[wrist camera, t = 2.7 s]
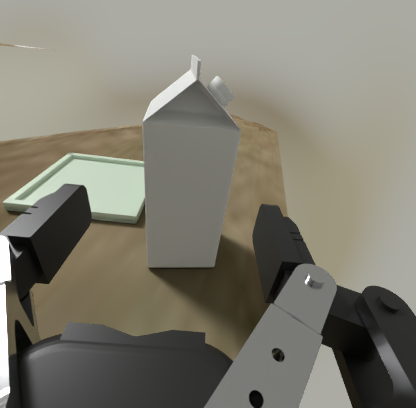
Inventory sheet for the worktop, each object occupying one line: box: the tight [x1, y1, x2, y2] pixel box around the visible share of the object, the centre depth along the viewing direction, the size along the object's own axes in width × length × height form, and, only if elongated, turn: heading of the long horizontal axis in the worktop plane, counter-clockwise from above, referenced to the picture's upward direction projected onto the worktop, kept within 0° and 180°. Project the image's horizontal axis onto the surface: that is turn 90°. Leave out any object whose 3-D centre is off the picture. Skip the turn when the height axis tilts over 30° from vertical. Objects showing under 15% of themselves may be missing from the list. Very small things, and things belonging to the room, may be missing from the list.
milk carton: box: [143, 55, 241, 267], centre depth 23 cm, size 7×7×19 cm
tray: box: [3, 153, 145, 224], centre depth 36 cm, size 16×16×1 cm
